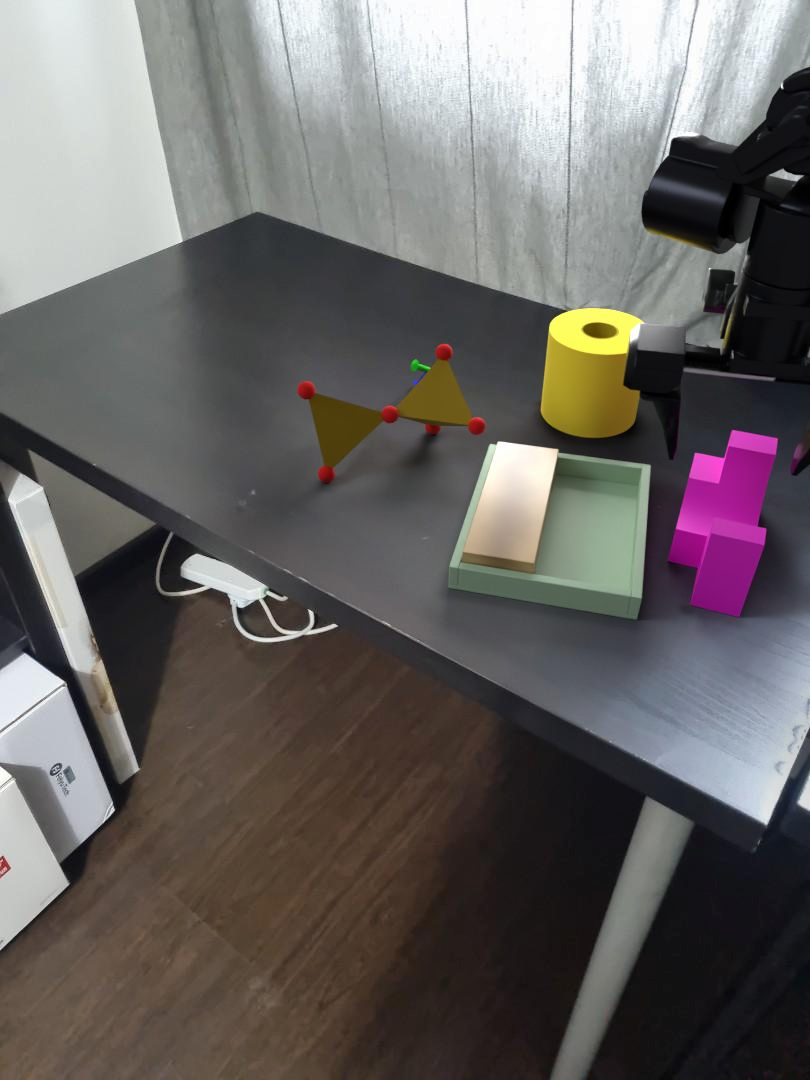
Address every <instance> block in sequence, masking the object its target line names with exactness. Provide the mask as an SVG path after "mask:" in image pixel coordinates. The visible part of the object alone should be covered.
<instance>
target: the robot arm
mask: <svg viewBox="0 0 810 1080" xmlns="http://www.w3.org/2000/svg"><path fill="white" fill-rule="evenodd" d="M668 149H669V150H668V155H667V156H666V157H665V158H664V159H663V160H662V162H661V163H660V164H659V166H658V167H657V169H656V170H655V172H654V174H653V176H652V178H651V181H650V182H649V185H648V188H647V190H645V191H644V193H643V197H642V200H641V211H640V213H641V222H642V225H643V228H644V229H645V231H647V232H648V233H650V234H653V235H655V236H660V237H662V238H665V239H669V240H671V241H674V242H677V243H681V244H685V245H687V246H690V247H694V248H698V249H700V250H702V251H703V250H704V251H706V252H709V253H712V254H716V255H723V254H726V253H728V252H729V251H731V250H732V249H733V248H734V247H735V246H736V245H737V244H739V245H741V244H743V243H745V242H747V241H748V244H747V249H746V251H745V256H744V258H743V263H742V267H741V271H740V275H739V279H738V282H736V281H735V279H736V271H735V270H731V269H724V268H723V269H721V268H710V267H709V268H708V269H707V274H706V279H705V283H704V287H703V292H702V297H701V302H700V310H701V311H702V312H703V313H710V314H722V315H723V316H722V320H721V324H720V328H719V331H718V332H719V339H720V340H723V342H722V345H721V347H712V346H711V347H710V346H700V345H692V344H691V345H690V344H687V343H686V341H687V340H686V338H687V337H686V334H687V333H686V329H687V328H686V327H685V326H677V325H666V324H656V323H646V322H644V323H639V324H638V325H637V326H635V327H634V328H633V329H632V330H631V331H630V336H629V342H628V348H627V354H626V363H625V371H624V380H623V385H624V386H625V387H627V388H628V389H630V390H637V391H640V392H639V397H640V398H639V399H641V400H642V401H645V402H650V403H652V404H653V407H654V410H655V411H656V414H657V417H658V419H659V422H660V425H661V426H662V431H663V437H664V443H665V448H666V454H667V459H668V461H674V460H675V457H676V454H677V451H678V442H679V428H680V416H681V405H682V378H683V375H684V374H683V373H688V374H697V375H707V376H708V375H709V376H716V377H724V378H725V377H726V378H735V379H745V380H752V381H753V380H754V381H763V382H764V381H765V382H774V383H782V384H791V385H801V386H802V385H803V386H810V356H809V354H810V66H807V67H804V68H802V69H799V70H797V71H794V72H793V73H791V74H790V75H788V77H786V78H785V79H784V80H782V82H781V84H780V86H779V87H778V88H777V90H776V92H775V93H774V94H773V96H772V97H771V100H770V103H769V105H768V108H767V111H766V113H765V119H764V120H763V121H762V122H761V123H760V124H759V125H758V126H757V127H756V128H755V129H754V130H753V131H752V132H751V133H750V134H748V136H747V137H746V138H745V139H744V140H743V141H742V142H741V143H740V144H739V145H734V144H731V143H726V142H722V141H717V140H713V139H711V138H710V137H708V136H706V135H704V134H701V133H695V132H691V131H688V132H686V133H683V134H679V135H676V136H674V137H673V138H671V139H670V144H669V148H668ZM782 170H783V171H784V172H786V173H789V174H791V175H794V176H800V178H799V179H798V180H791V179H786V178H781V177H777V176H774V175H772V174H774V173H778V172H779V171H782ZM809 466H810V418H809V420H808V422H807V423H806V426H805V428H804V430H803V433H802V434H801V437H800V439H799V441H798V444H797V446H796V448H795V450H794V454H793V456H792V460H791V464H790V467H789V470H790V475H791V476H794V477H797V476H799V474H801V473H802V472H803V471H804V470H805V469H807V467H809Z"/></svg>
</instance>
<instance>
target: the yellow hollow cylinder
mask: <svg viewBox="0 0 810 1080" xmlns="http://www.w3.org/2000/svg"><path fill="white" fill-rule="evenodd" d="M639 323H645V322H644V321H643V320H642V319H640V318H638V317H636V316H635V315H632V314H629V313H626V312H623V311H619V310H614V309H608V308H598V307H597V308H596V307H594V308H593V307H591V308H580V309H579V308H578V309H573V310H569V311H566V312H563V313H560V314H559V315H557V316H556V317H554V318H553V319H552V320H551V322H550V323H549V328H548V334H547V335H548V336H547V345H546V354H545V355H546V356H545V365H544V375H543V385H542V392H541V404H540V413H541V416H542V418H543V419H544V421H545V422H546V423H547V424H548V425H549V426H551V427H552V428H554V429H555V430H557V431H560V432H562V433H564V434H566V435H571V436H574V437H580V438H587V439H588V438H589V439H600V438H601V439H602V438H609V437H613V436H618V435H620V434H622V433H625V432H626V431H628V430H629V429H630V428H631V427H632V426H633V425H634V424H635V422H636V419H637V413H638V409H639V402H640V399H641V398H640V397H639V392H640V391H637V390H630V389H628V388H627V387H625V386H624V385H623V380H624V371H625V363H626V354H627V348H628V342H629V336H630V331H631V330H632V329H633V328H634V327H635V326H637V325H638V324H639Z"/></svg>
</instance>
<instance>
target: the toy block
mask: <svg viewBox="0 0 810 1080" xmlns="http://www.w3.org/2000/svg"><path fill="white" fill-rule="evenodd" d="M778 440H779V438H777V437H773V436H766V435H762V434H756V433H751V432H745V431H741V430H734V429H732V430H731V432H730V435H729V440H728V442H727V443H728V444H727V446H726V450H725V454H724V457H719V456H714V455H709V454H705V453H699V452H694V456H693V460H692V464H691V467H690V471H689V475H688V480H687V483H686V486H685V491H684V495H683V499H682V502H681V507H680V511H679V514H678V519H677V522H676V527H675V530H674V535H673V539H672V542H671V546H670V550H669V554H668V558H667V561H668V562H671V563H674V564H678V565H681V566H682V565H683V566H687V567H691V568H695V569H697V571H696V574H695V575H696V576H695V580H694V585H693V589H692V593H691V594H692V595H691V598H690V599H691V600H690V603H689V605H690V606H693V607H698V608H701V609H705V610H710V611H713V612H717V613H721V614H724V615H729V616H732V617H737V618H740V616H741V613H742V610H743V608H744V605H745V602H746V599H747V596H748V593H749V591H750V589H751V588H750V587H751V585H752V583H753V579H754V577H755V573H756V570H757V568H758V565H759V561H760V559H761V557H762V553H763V551H764V547H765V544H766V537H767V528H765V527H762V526H761V527H760V526H758V525H759V520H760V517H761V512H762V507H763V502H764V499H765V495H766V490H767V486H768V484H769V480H770V476H771V472H772V470H773V465H774V462H775V459H776V456H777V448H778Z"/></svg>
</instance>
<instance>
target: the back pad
mask: <svg viewBox="0 0 810 1080" xmlns="http://www.w3.org/2000/svg"><path fill="white" fill-rule="evenodd" d="M496 445H497V446H496V449H495V452H494V455H493V458H492V461H491V464H490V468H489V471H488V474H487V477H486V480H485V483H484V486H483V490H482V493H481V496H480V499H479V502H478V505H477V508H476V511H475V515H474V518H473V521H472V524H471V527H470V530H469V533H468V537H467V540H466V543H465V546H464V549H463V554H462V562H463V563H469V564H475V565H481V566H487V567H493V568H499V569H506V570H512V571H518V572H524V573H530V574H535V571H536V566H537V561H538V557H539V552H540V547H541V542H542V538H543V533H544V528H545V524H546V519H547V514H548V510H549V505H550V500H551V495H552V491H553V486H554V481H555V477H556V470H557V462H558V454H559V453H560V449H558V448H552V447H545V446H535V445H528V444H521V443H514V442H506V441H497V443H496Z"/></svg>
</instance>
